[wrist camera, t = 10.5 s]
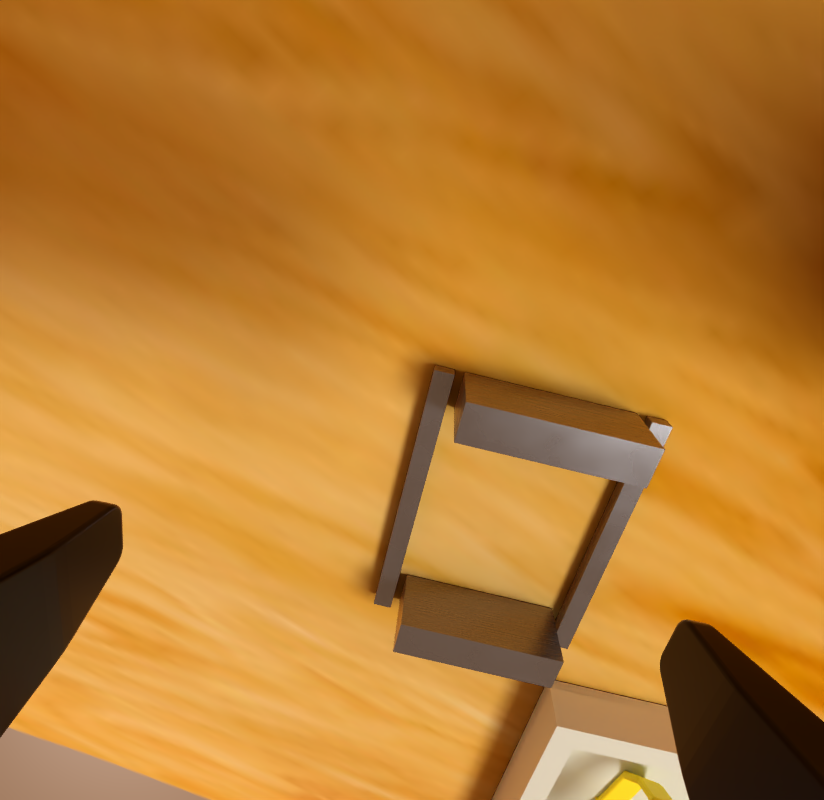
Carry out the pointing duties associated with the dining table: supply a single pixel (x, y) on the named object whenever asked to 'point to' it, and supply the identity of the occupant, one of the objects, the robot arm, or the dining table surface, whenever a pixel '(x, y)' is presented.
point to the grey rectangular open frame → (536, 441)
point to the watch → (633, 788)
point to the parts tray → (591, 747)
